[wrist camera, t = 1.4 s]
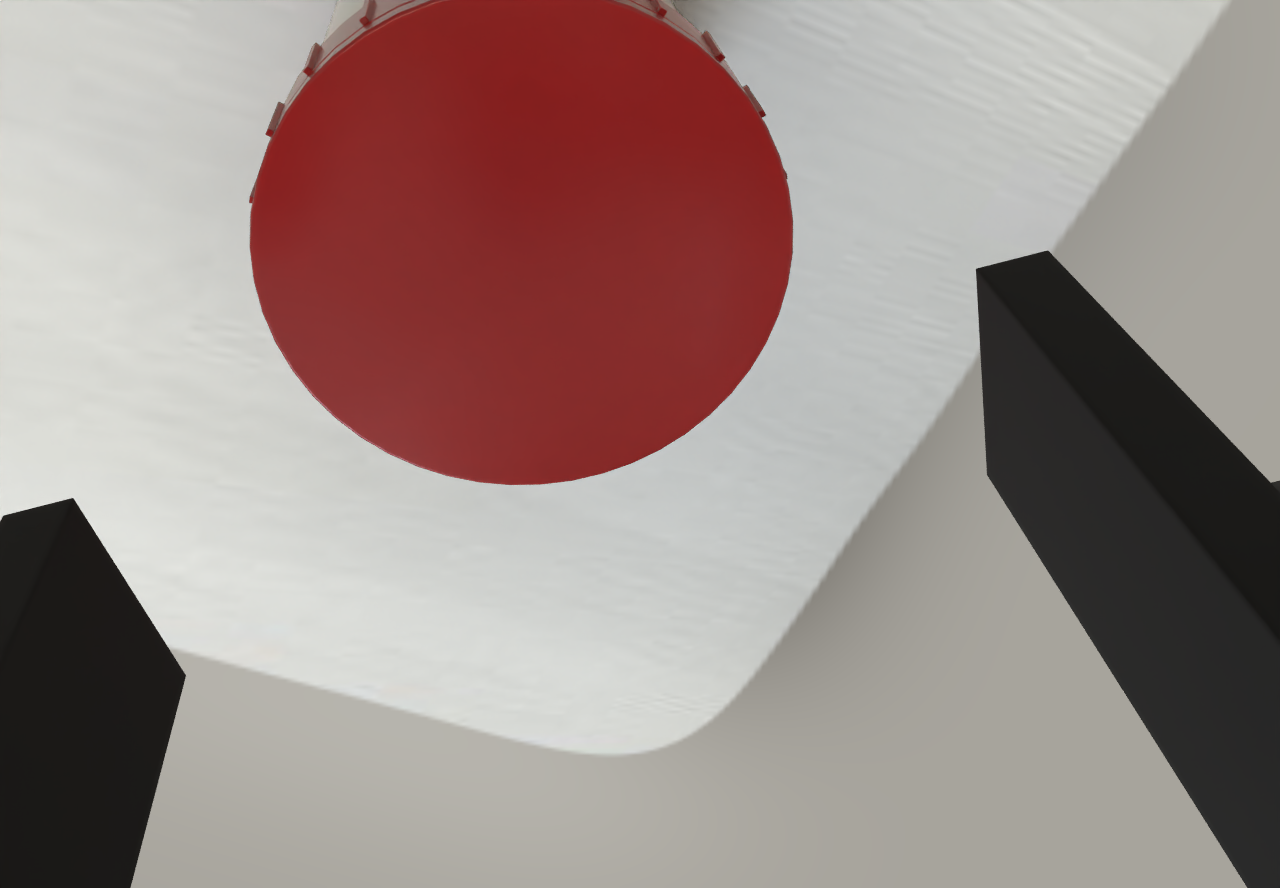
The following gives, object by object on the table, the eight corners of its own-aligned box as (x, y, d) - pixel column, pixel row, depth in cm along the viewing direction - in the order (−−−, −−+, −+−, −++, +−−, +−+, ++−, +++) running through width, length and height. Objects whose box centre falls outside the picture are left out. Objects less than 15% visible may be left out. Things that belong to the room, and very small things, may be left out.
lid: (725, 439, 22) (744, 496, 21) (272, 420, 21) (257, 480, 19) (819, -15, 18) (852, 16, 16) (250, -81, 16) (229, -53, 15)
